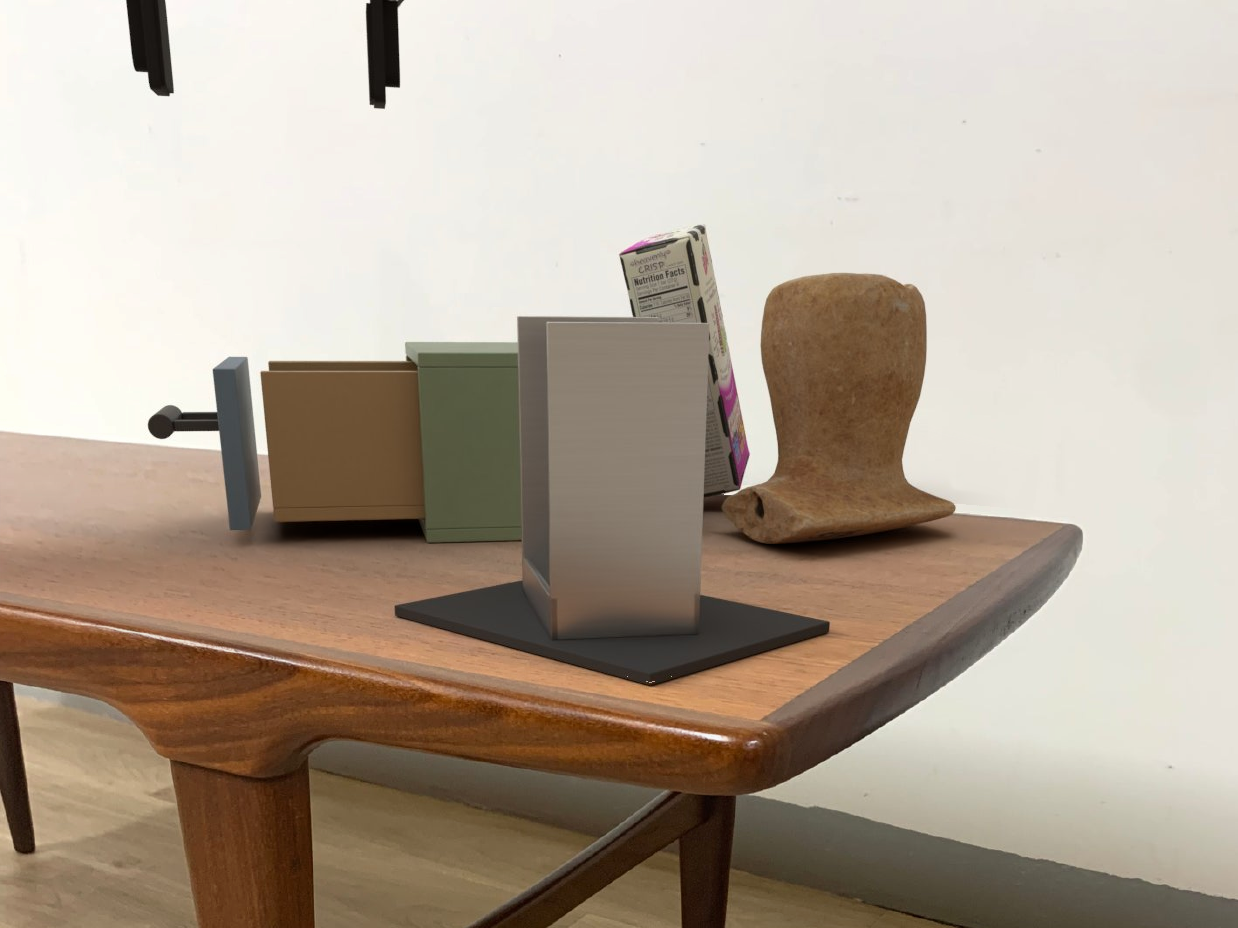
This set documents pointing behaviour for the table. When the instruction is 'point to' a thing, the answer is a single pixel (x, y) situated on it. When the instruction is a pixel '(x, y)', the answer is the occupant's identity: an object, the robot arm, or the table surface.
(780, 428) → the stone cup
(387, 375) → the drawer
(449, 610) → the desk pad
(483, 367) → the cabinet
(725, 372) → the candy bar box
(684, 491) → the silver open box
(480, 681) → the table surface
